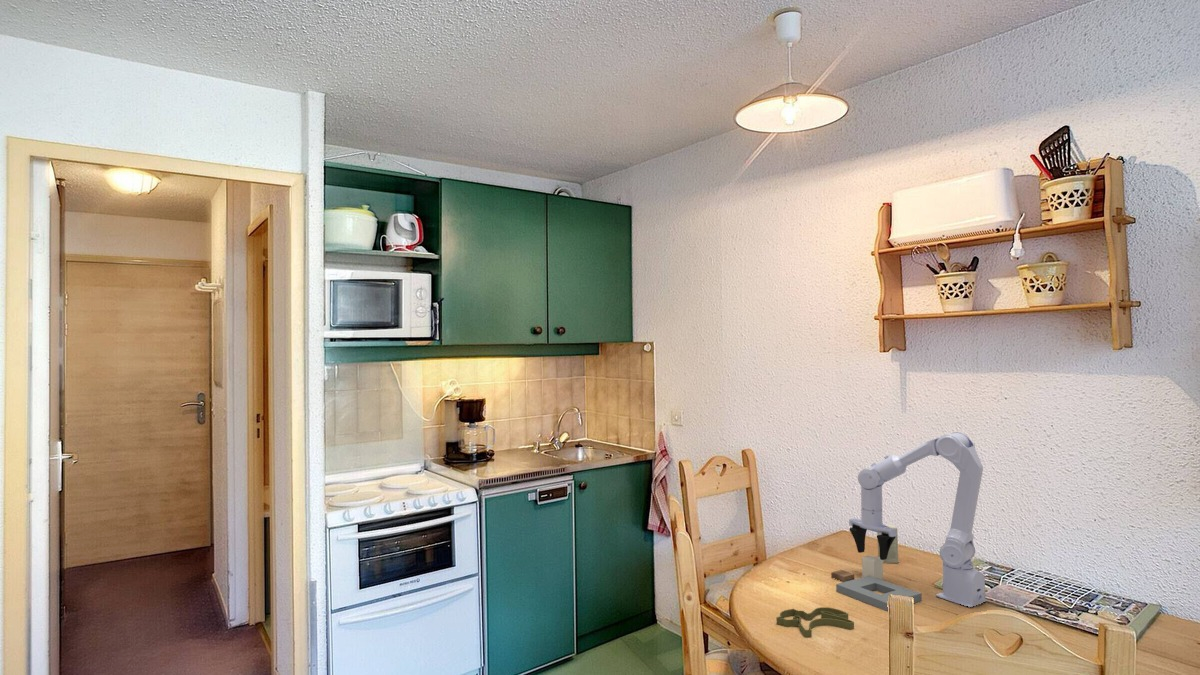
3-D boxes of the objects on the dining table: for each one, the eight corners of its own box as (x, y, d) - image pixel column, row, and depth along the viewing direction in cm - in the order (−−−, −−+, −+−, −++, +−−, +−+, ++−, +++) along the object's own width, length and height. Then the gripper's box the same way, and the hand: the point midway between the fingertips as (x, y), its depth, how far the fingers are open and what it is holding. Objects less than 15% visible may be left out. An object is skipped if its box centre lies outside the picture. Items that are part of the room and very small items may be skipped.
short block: (854, 581, 186) (854, 574, 187) (844, 583, 184) (843, 576, 184) (841, 576, 190) (841, 569, 190) (831, 579, 188) (831, 572, 188)
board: (921, 600, 170) (921, 593, 170) (887, 611, 163) (887, 603, 163) (869, 582, 184) (869, 575, 184) (836, 591, 177) (836, 584, 177)
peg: (883, 579, 187) (882, 558, 187) (874, 581, 185) (873, 560, 185) (871, 575, 191) (870, 554, 191) (862, 577, 189) (862, 556, 189)
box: (894, 559, 206) (893, 524, 206) (898, 563, 201) (898, 527, 202) (877, 558, 206) (876, 524, 206) (881, 562, 202) (881, 527, 202)
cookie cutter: (799, 641, 147) (799, 632, 147) (769, 620, 158) (769, 612, 158) (862, 629, 153) (862, 621, 153) (828, 611, 164) (828, 603, 164)
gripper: (902, 512, 184) (903, 560, 184) (859, 502, 197) (860, 547, 196) (886, 515, 181) (887, 564, 180) (844, 505, 193) (844, 550, 193)
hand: (872, 555), depth 188 cm, fingers open, 7 cm apart
